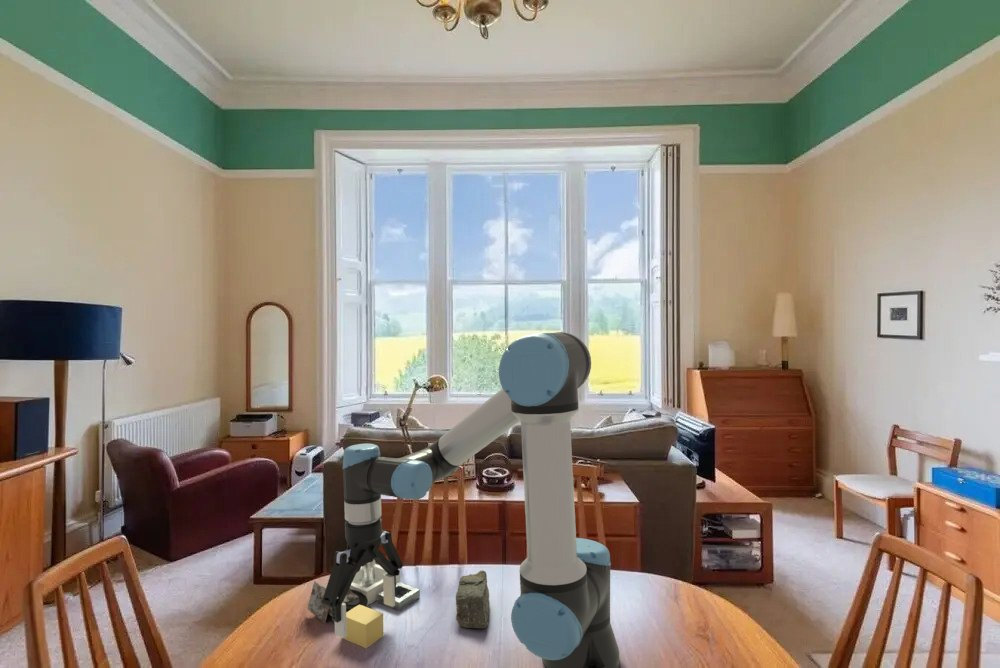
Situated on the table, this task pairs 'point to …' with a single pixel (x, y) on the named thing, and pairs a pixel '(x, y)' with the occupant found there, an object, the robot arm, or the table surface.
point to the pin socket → (408, 598)
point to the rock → (473, 601)
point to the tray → (373, 589)
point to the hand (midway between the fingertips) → (366, 619)
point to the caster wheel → (350, 600)
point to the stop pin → (368, 574)
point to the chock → (364, 626)
